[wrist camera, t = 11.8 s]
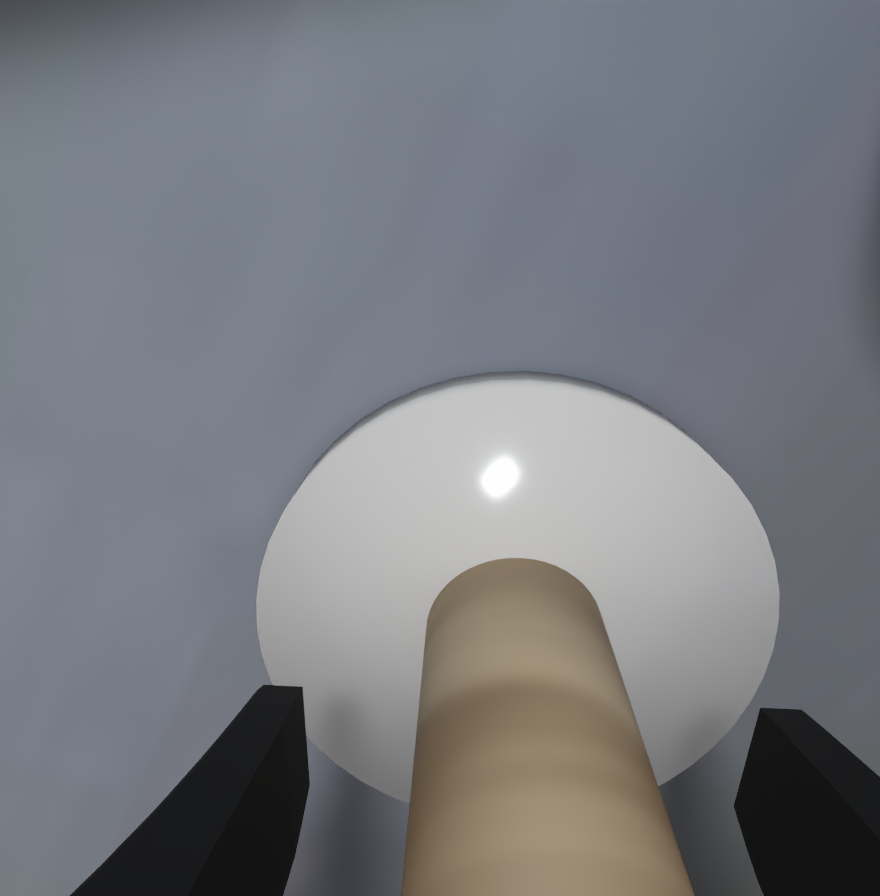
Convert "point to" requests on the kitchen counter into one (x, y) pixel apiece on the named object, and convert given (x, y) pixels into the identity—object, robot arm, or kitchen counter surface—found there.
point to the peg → (530, 749)
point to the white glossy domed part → (515, 536)
